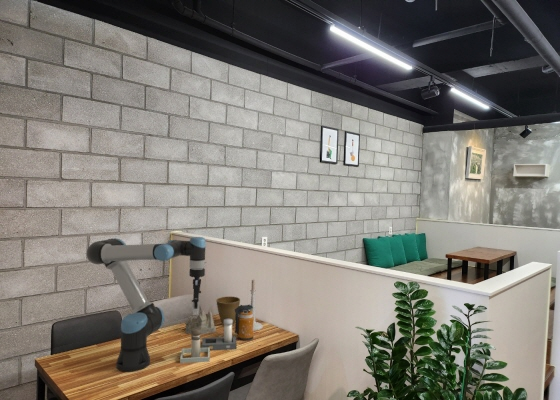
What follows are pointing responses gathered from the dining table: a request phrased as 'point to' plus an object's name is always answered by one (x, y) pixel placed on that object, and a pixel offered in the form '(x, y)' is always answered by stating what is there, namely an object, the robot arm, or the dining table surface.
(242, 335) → the canister
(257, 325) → the candlestick
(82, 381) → the dining table surface
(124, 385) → the dining table surface
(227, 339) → the cylinder
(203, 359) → the parts tray
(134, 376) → the dining table surface
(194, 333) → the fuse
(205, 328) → the grey jagged lump
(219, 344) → the block
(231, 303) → the plant pot
